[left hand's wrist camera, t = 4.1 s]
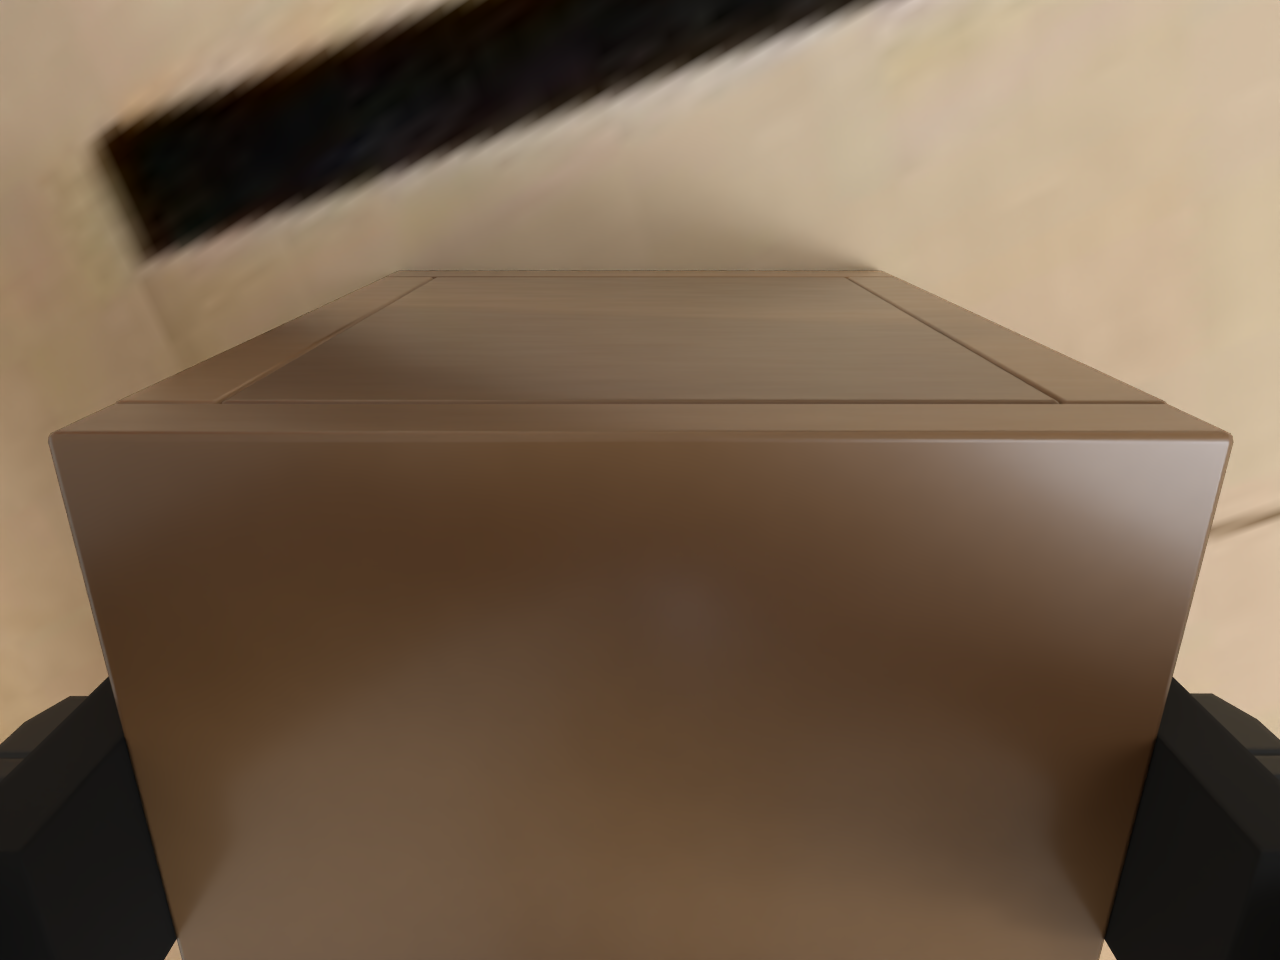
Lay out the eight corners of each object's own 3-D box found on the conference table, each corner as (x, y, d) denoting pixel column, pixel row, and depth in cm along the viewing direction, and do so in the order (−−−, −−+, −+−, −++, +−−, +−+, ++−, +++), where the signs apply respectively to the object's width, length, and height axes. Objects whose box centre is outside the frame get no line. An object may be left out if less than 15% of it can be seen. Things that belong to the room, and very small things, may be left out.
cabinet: (822, 884, 24) (970, 1468, 13) (457, 884, 24) (310, 1467, 13) (884, 270, 18) (1241, 433, 7) (396, 270, 18) (40, 433, 7)
